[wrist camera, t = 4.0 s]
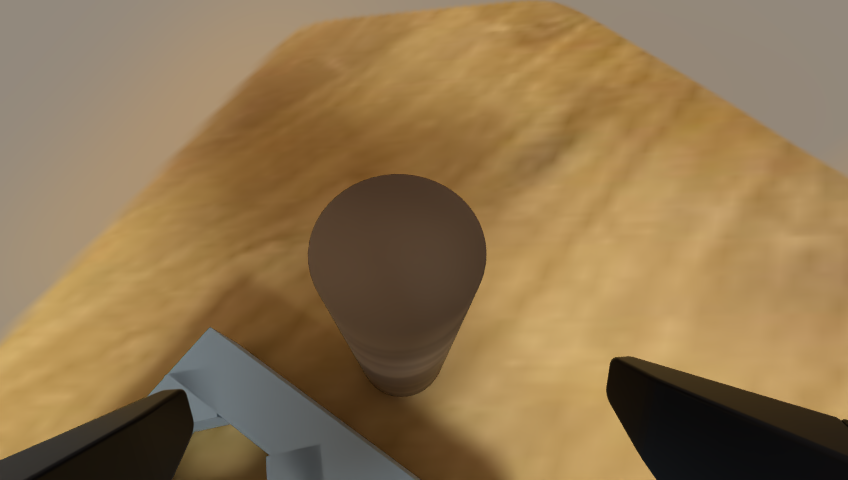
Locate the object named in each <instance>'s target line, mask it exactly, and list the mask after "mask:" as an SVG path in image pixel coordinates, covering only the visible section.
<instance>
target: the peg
mask: <svg viewBox="0 0 848 480" xmlns="http://www.w3.org/2000/svg"><path fill="white" fill-rule="evenodd" d="M308 264H309V269H310V274H311V277H312V280H313V283H314V286H315V288H316V290H317V292H318V294H319V295H320V297H321V299H322V301H323V302H324V304H325V306H326V307H327V309H328V311H329V313H330V314H331V316H332V318H333V319H334V321H335V323H336V325H337V326H338V328H339V330H340V331H341V333H342V335H343V337H344V338H345V340H346V342H347V343H348V345H349V347H350V349H351V350H352V352H353V354H354V356H355V357H356V359H357V361H358V362H359V364H360V366H361V368H362V369H363V371H364V373H365V374H366V376H367V378H368V379H369V381H370V382H371V383H372V384H373V385H374V386H375V387H376V388H377V389H379V390H380V391H382V392H384V393H386V394H389V395H392V396H399V397H404V396H411V395H414V394H417V393H419V392H421V391H423V390H424V389H426V388H427V387H428V386H430V385H431V383H432V382H433V381H434V380H435V379H436V377H437V375H438V374H439V372H440V370H441V367H442V365H443V363H444V361H445V359H446V357H447V354H448V352H449V350H450V348H451V346H452V344H453V341H454V339H455V337H456V335H457V333H458V331H459V329H460V326H461V324H462V322H463V320H464V318H465V316H466V313H467V311H468V309H469V307H470V305H471V303H472V300H473V298H474V296H475V294H476V292H477V290H478V288H479V285H480V283H481V280H482V277H483V274H484V270H485V265H486V243H485V238H484V234H483V231H482V228H481V226H480V223H479V221H478V219H477V217H476V216H475V214H474V212H473V211H472V210H471V208H470V207H469V206H468V205H467V204H466V203H465V201H464V200H463V199H462V198H461V197H459V196H458V195H457V194H456V193H454V192H453V191H452V190H450V189H448V188H447V187H445V186H443V185H441V184H439V183H437V182H435V181H432V180H430V179H427V178H423V177H419V176H414V175H405V174H391V175H382V176H378V177H373V178H370V179H367V180H364V181H361V182H359V183H357V184H355V185H353V186H351V187H349V188H348V189H346V190H344V191H343V192H342V193H340V194H339V195H338V196H336V197H335V198H334V199H333V200H332V201H331V202H330V203H329V204H328V205H327V207H326V208H325V209H324V210H323V212H322V213H321V215H320V216H319V218H318V220H317V221H316V224H315V226H314V228H313V231H312V234H311V238H310V241H309V249H308Z"/></svg>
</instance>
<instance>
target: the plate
mask: <svg viewBox="0 0 848 480" xmlns="http://www.w3.org/2000/svg"><path fill="white" fill-rule="evenodd" d="M170 389H183V390H184V391H185V392H186V394H187V397H188V401H189V405H190V408H191V412H192V416H193V420H194V429H193V433H194V432H195V431H202V430H206V429H211V428H215V427H220V426H224V425H229V424H231V425H232V426H234V427H235V428H236V429H237V430H239V431H240V432H241V433H242V434H244V435H245V436H246V437H247V438H249V439H250V440H251V441H252V442H253V443H255V444H256V445H257V446H258V447H260V448H261V449H262V450H263V451H265V452H266V453H267V454H268V455H270V456H266V471H267V480H421V479H419V478H418V477H417V476H415V475H414V474H413V473H411V472H410V471H409V470H407V469H406V468H405V467H403V466H402V465H401V464H399V463H398V462H396V461H395V460H394V459H392V458H391V457H390V456H388V455H387V454H386V453H384V452H383V451H382V450H380V449H379V448H378V447H376V446H375V445H374V444H372V443H371V442H370V441H368V440H367V439H365V438H364V437H363V436H361V435H360V434H359V433H357V432H356V431H355V430H353V429H352V428H351V427H349V426H348V425H347V424H345V423H344V422H343V421H341V420H340V419H339V418H337V417H336V416H334V415H333V414H332V413H330V412H329V411H328V410H326V409H325V408H324V407H322V406H321V405H320V404H318V403H317V402H316V401H314V400H313V399H312V398H310V397H309V396H308V395H306V394H305V393H303V392H302V391H301V390H299V389H298V388H297V387H295V386H294V385H293V384H291V383H290V382H289V381H287V380H286V379H285V378H283V377H282V376H281V375H279V374H278V373H277V372H275V371H274V370H272V369H271V368H270V367H268V366H267V365H266V364H264V363H263V362H262V361H260V360H259V359H258V358H256V357H255V356H254V355H252V354H251V353H250V352H248V351H247V350H246V349H244V348H243V347H241V346H240V345H239V344H237V343H236V342H234V341H233V340H231V339H229V338H228V337H226V336H224V335H223V334H221V333H219V332H218V331H216V330H214V329H213V328H211V327H209V329H208V330H207V331H206V332H205V333H204V334H203V335H202V336H201V337H200V339H199V340H198V341H197V342H196V343H195V344H194V345H193V346H192V347H191V348H190V350H189V351H188V352H187V353H186V354H185V355H184V356H183V357H182V358H181V360H180V361H179V362H178V363H177V364H176V365H175V366H174V367H173V368H172V370H171V371H170V372H169V373H168V374H167V375H165V377H164V378H163V380H162V381H161V382H160V383H159V384H158V385H157V386H156V387H155V388H154V389H153V391H152V392H151V393H150V394H149V395H148V396H150V395H152V394H155V393H157V392H159V391H162V390H170ZM148 396H147V397H148ZM193 433H192V434H193Z"/></svg>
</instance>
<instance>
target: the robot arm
mask: <svg viewBox="0 0 848 480" xmlns="http://www.w3.org/2000/svg"><path fill="white" fill-rule="evenodd" d="M606 392H607V397H608V400H609V402H610V404H611V406H612V408H613V410H614V411H615V413H616V415H617V417H618V418H619V420H620V422H621V424H622V425H623V427H624V429H625V431H626V432H627V434H628V436H629V438H630V439H631V441H632V443H633V445H634V446H635V448H636V450H637V452H638V453H639V455H640V456H641V458H642V460H643V461H644V462H645V464H646V465H647V467H648V468H649V470H650V471H651V473H652V474H653V475H654V477H655V478H656V480H848V420H846V419H843V420H840V419H838V418H837V417H833V416H830V415H827V414H823V413H820V412H817V411H813V410H810V409H806V408H803V407H800V406H796V405H793V404H790V403H786V402H783V401H780V400H776V399H773V398H769V397H766V396H763V395H759V394H756V393H753V392H749V391H746V390H742V389H739V388H736V387H732V386H729V385H726V384H722V383H719V382H716V381H712V380H709V379H705V378H702V377H699V376H695V375H692V374H689V373H685V372H682V371H678V370H675V369H672V368H668V367H665V366H662V365H658V364H655V363H652V362H648V361H645V360H641V359H638V358H635V357H629V356H626V357H615V358H613V359H612V360H611V362H610V367H609V373H608V380H607V387H606ZM193 429H194V420H193V416H192V412H191V408H190V405H189V401H188V397H187V394H186V392H185V391H184V390H183V389H170V390H162V391H159V392H157V393H155V394H152V395H150V396H148V397H145V398H143V399H141V400H138V401H136V402H134V403H131V404H129V405H127V406H125V407H122V408H120V409H118V410H115V411H113V412H111V413H108V414H106V415H104V416H101V417H99V418H97V419H94V420H92V421H90V422H88V423H85V424H83V425H81V426H78V427H76V428H74V429H71V430H69V431H67V432H64V433H62V434H60V435H58V436H55V437H53V438H51V439H48V440H46V441H44V442H41V443H39V444H37V445H34V446H32V447H30V448H28V449H25V450H23V451H21V452H18V453H16V454H14V455H11V456H9V457H7V458H4V459H2V460H0V480H172V479H173V476H174V474H175V472H176V470H177V468H178V465H179V463H180V461H181V459H182V456H183V454H184V452H185V450H186V447H187V445H188V443H189V441H190V439H191V436H192V433H193Z"/></svg>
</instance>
